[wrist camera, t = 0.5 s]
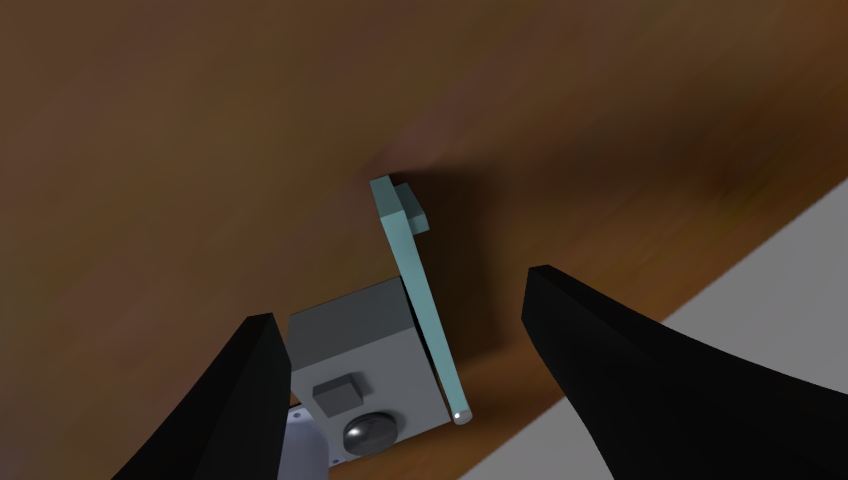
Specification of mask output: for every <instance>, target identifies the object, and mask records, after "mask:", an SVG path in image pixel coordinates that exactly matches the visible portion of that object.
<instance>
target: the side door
mask: <svg viewBox="0 0 848 480" xmlns="http://www.w3.org/2000/svg"><path fill="white" fill-rule="evenodd" d="M370 185H371V188H372V192H373V195H374V199H375V202H376V205H377V209H378V212H379V216H380V219H381V222H382V224H383V227H384V230H385V232H386V235H387V238H388V240H389V243H390V246H391V248H392V251H393V254H394V256H395V259H396V262H397V264H398V267H399V270H400V272H401V275H402V278H403V281H404V283H405V286H406V289H407V291H408V294H409V297H410V299H411V302H412V305H413V307H414V310H415V313H416V315H417V318H418V321H419V323H420V326H421V329H422V331H423V334H424V337H425V339H426V342H427V345H428V347H429V350H430V353H431V355H432V358H433V361H434V364H435V366H436V369H437V372H438V374H439V377H440V380H441V383H442V386H443V389H444V392H445V395H446V398H447V401H448V404H449V407H450V410H451V413H452V416H453V419H454V422H455V423H456V424H458V425H462V424H465V423H467V422H469V421H470V420H471V419H472V413H471V410H470V408H469V405H468V403H467V400H466V397H465V395H464V392H463V390H462V387H461V384H460V381H459V378H458V375H457V372H456V369H455V366H454V363H453V359H452V356H451V353H450V350H449V347H448V344H447V341H446V338H445V335H444V332H443V329H442V326H441V323H440V319H439V316H438V313H437V310H436V307H435V304H434V301H433V298H432V295H431V292H430V289H429V286H428V282H427V279H426V276H425V273H424V270H423V267H422V264H421V261H420V258H419V255H418V252H417V249H416V246H415V242H414V239H413V235H416V234H418V233H421V232H424V231H427V230H430V229H429V226H428V222H427V219H426V216H425V213H424V211H423V209H422V208H421V206H420V204H419V202H418V201H417V199H416V197H415V196H414V194H413V192H412V190H411V189H410V187H409V185H408V183H407V182H406V183H403V184H400V185H397V186H394V187H393V185H392V183H391V181H390V178H389V176H388V175H387V176H384V177H381V178H378V179H375V180H372V181H370Z"/></svg>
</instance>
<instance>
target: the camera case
mask: <svg viewBox="0 0 848 480" xmlns="http://www.w3.org/2000/svg"><path fill="white" fill-rule="evenodd" d="M285 348H286V351H287V353H288V356H289V359H290V361H291V364H292V370H291V391H292V392H293V393H294V394H295V396H296V397H297V398H298V400H299V401H300V402H301V403H302V405H303V406H304V407H305V408H306V410H307V411H308V412H309V413H310V415H311V416H312V417H313V419H314V420H315V421H316V422H317V424H318V425H319V426H320V427H321V429H322V430H323V431H324V432H325V434H326V435H327V436H328V438H329V439H330V440H331V441H332V443H333V444H334V445H335V446H336V448H337V449H338V450H339V452H340V453H341V454H342V455H343V457H344V458H345V459H346V460H347V462H349V461H352V460H354V459H357V458H359V457H362V456H369V455H374V454H377V453H380V452H382V451H384V450H386V449H388V448H389V447H390V446H392V445H393V444H394V443H397V442H399V441H402V440H404V439H407V438H409V437H412V436H414V435H417V434H419V433H422V432H424V431H427V430H429V429H432V428H434V427H437V426H439V425H442V424H444V423H447V422H449V421H451V419H450V416H449V413H448V410H447V407H446V403H445V400H444V397H443V394H442V391H441V388H440V385H439V382H438V379H437V376H436V373H435V369H434V366H433V364H432V361H431V358H430V356H429V353H428V350H427V348H426V345H425V343H424V340H423V337H422V335H421V332H420V329H419V327H418V324H417V321H416V319H415V316H414V313H413V311H412V308H411V306H410V303H409V300H408V298H407V295H406V292H405V290H404V287H403V284H402V282H401V279H400V276H399V277H396V278H393V279H390V280H387V281H385V282H382V283H379V284H376V285H374V286H371V287H368V288H365V289H362V290H360V291H357V292H354V293H351V294H349V295H346V296H343V297H340V298H338V299H335V300H332V301H329V302H326V303H324V304H321V305H318V306H315V307H313V308H310V309H307V310H304V311H301V312H299V313H296V314H293V315H290V320H289V326H288V332H287V339H286V345H285Z"/></svg>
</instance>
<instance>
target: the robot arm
mask: <svg viewBox="0 0 848 480" xmlns="http://www.w3.org/2000/svg"><path fill="white" fill-rule="evenodd" d="M521 320H522V322H523V324H524V326H525V328H526V330H527V333H528V335H529V337H530V339H531V341H532V343H533V345H534V347H535V349H536V350H537V352H538V354H539V355H540V357H541V358H542V360H543V361H544V363H545V365H546V366H547V368H548V369H549V371H550V372H551V374H552V375H553V377H554V378H555V380H556V381H557V383H558V385H559V386H560V388H561V389H562V391H563V392H564V394H565V395H566V397H567V398H568V400H569V401H570V403H571V404H572V406H573V407H574V409H575V410H576V412H577V413H578V415H579V417H580V418H581V420H582V421H583V423H584V424H585V426H586V428H587V429H588V431H589V433H590V435H591V436H592V438H593V440H594V442H595V444H596V446H597V448H598V450H599V451H600V453H601V455H602V457H603V459H604V460H605V462H606V465H607V466H608V468H609V470H610V472H611V474H612V476H613V478H614V480H848V394H844V393H841V392H838V391H834V390H831V389H828V388H825V387H821V386H819V385H816V384H813V383H809V382H806V381H803V380H801V379H797V378H794V377H791V376H788V375H785V374H783V373H780V372H777V371H775V370H772V369H769V368H766V367H764V366H761V365H758V364H755V363H752V362H750V361H747V360H744V359H742V358H739V357H737V356H734V355H731V354H728V353H726V352H724V351H721V350H719V349H717V348H714V347H712V346H709V345H707V344H704V343H702V342H700V341H698V340H695V339H693V338H690V337H688V336H686V335H684V334H681V333H679V332H677V331H675V330H673V329H670V328H668V327H666V326H664V325H662V324H660V323H658V322H656V321H654V320H652V319H650V318H648V317H646V316H644V315H642V314H640V313H638V312H636V311H634V310H632V309H630V308H628V307H626V306H624V305H622V304H620V303H619V302H617V301H615V300H613V299H611V298H609V297H607V296H606V295H604V294H602V293H600V292H598V291H596V290H595V289H593V288H591V287H589V286H587V285H586V284H584V283H582V282H580V281H578V280H577V279H575V278H573V277H571V276H569V275H567V274H566V273H564V272H562V271H560V270H558V269H556V268H554V267H552V266H550V265H542V266H536V267H531V268H529V271H528V277H527V284H526V290H525V296H524V303H523V309H522V315H521ZM291 370H292V364H291V361H290V359H289V356H288V353H287V351H286V348H285V345H284V343H283V340H282V337H281V335H280V332H279V329H278V327H277V324H276V321H275V318H274V316H273V313H266V314H260V315H254V316H249V317H247V318H246V319H245V320H244V321H243V323H242V324H241V325H240V327H239V328H238V329H237V330H236V332H235V333H234V334H233V336H232V337H231V338H230V340H229V341H228V342H227V344H226V345H225V346H224V347H223V349H222V350H221V351H220V353H219V354H218V355H217V357H216V358H215V359H214V361H213V362H212V363H211V364H210V366H209V367H208V368H207V370H206V371H205V372H204V373H203V375H202V376H201V377H200V378H199V380H198V381H197V382H196V383H195V385H194V386H193V387H192V388H191V390H190V391H189V392H188V393H187V395H186V396H185V397H184V398H183V400H182V401H181V402H180V403H179V404H178V405H177V407H176V408H175V409H174V410H173V411H172V412H171V414H170V415H169V416H168V417H167V418H166V419H165V421H164V422H163V423H162V424H161V425H160V426H159V428H158V429H157V430H156V431H155V432H154V433H153V435H152V436H151V437H150V438H149V439H148V440H147V441H146V443H145V444H144V445H143V446H142V447H141V448H140V449H139V450H138V451H137V452H136V454H135V455H134V456H133V457H132V458H131V459H130V460H129V461H128V462H127V463H126V464H125V465H124V467H123V468H122V469H121V470H120V471H119V472H118V473H117V474H116V475H115V476H114V477H113V478H112V479H111V480H329V467H332V466H334V465H337V464H339V463H342V462H344V461H346V459H345V458H344V457H343V455H342V454H341V453H340V452H339V450H338V449H337V448H336V446H335V445H334V444H333V443H332V441H331V440H330V439H329V438H328V436H327V435H326V434H325V432H324V431H323V430H322V429H321V427H320V426H319V425H318V424H317V422H316V421H315V420H314V419H313V417H312V416H311V415H310V413H309V412H308V411H307V410H306V408H305V407H304V406H303V405H302V404H301V405H299V406H296V407H293V408H291V409H289V406H290V393H291Z"/></svg>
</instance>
